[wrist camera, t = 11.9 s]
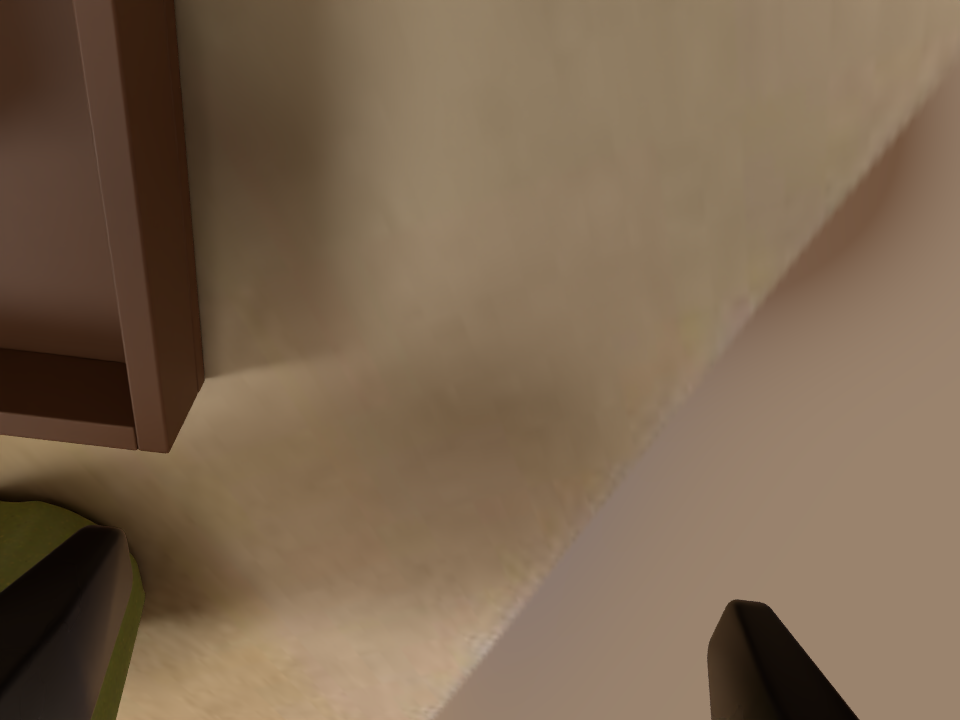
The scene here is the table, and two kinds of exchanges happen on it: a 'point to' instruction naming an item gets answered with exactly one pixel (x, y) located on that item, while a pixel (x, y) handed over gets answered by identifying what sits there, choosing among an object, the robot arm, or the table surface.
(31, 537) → the plant pot
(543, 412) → the table surface
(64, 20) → the tray
